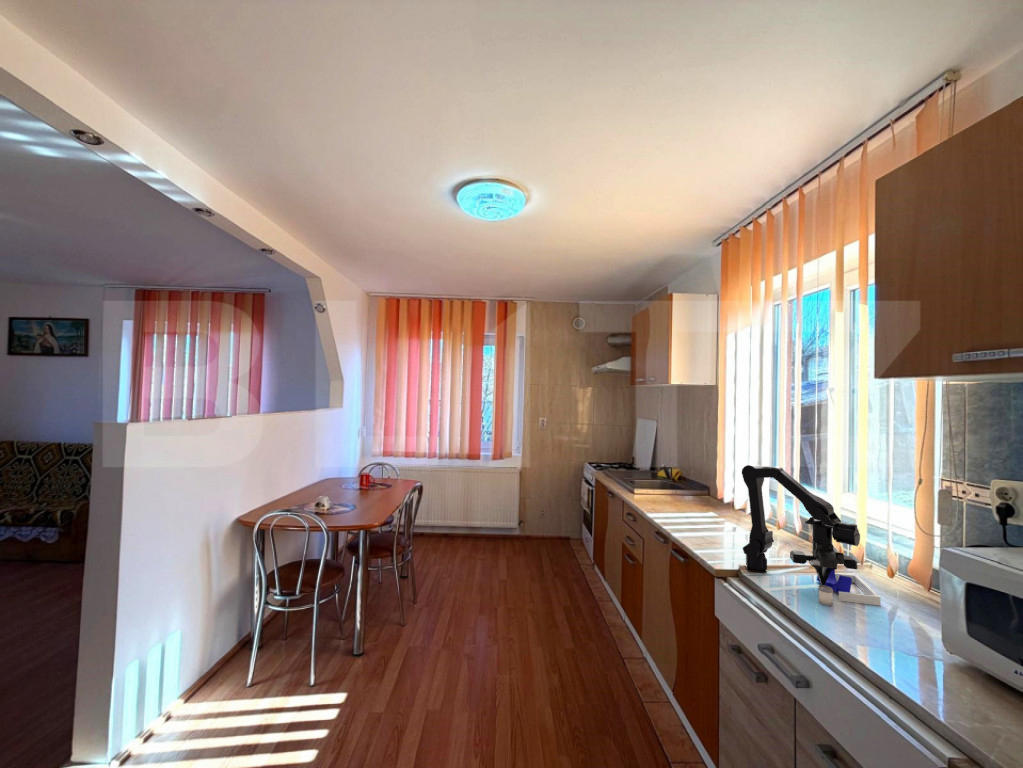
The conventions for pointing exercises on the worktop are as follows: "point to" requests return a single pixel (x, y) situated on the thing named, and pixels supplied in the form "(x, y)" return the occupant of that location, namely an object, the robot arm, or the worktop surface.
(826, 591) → the grey cylinder
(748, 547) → the robot arm
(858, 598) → the parts tray
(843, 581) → the cable clip
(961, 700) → the worktop surface
